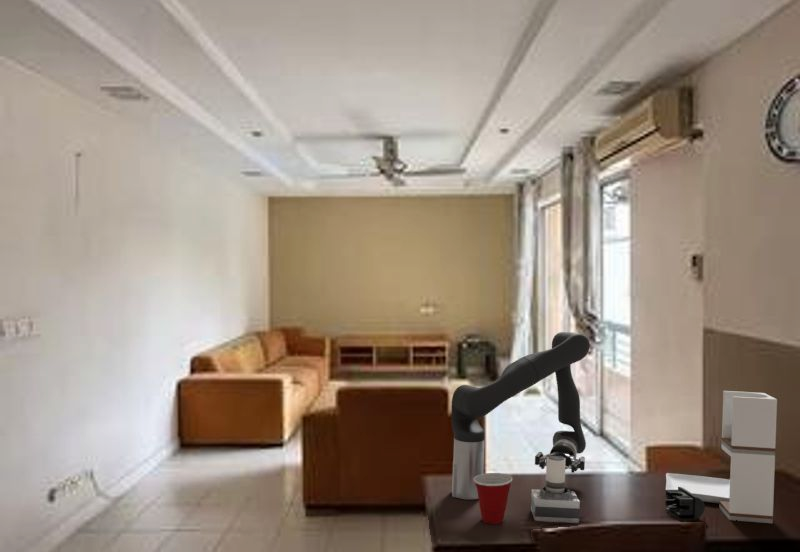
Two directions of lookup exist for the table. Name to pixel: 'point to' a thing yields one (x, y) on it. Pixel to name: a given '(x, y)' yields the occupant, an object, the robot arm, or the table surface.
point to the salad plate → (700, 486)
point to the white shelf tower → (749, 455)
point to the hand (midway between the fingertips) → (557, 467)
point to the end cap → (684, 504)
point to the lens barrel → (555, 474)
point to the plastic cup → (493, 495)
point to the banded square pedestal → (555, 506)
